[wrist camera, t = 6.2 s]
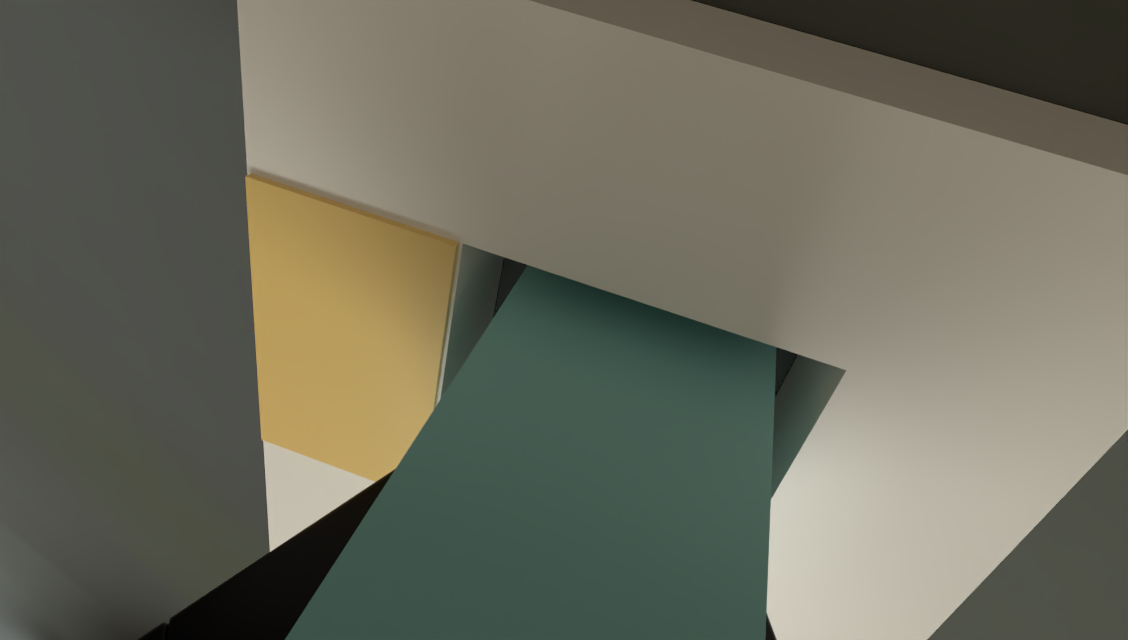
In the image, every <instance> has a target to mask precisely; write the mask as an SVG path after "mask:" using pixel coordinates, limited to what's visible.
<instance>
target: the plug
mask: <svg viewBox="0 0 1128 640" xmlns="http://www.w3.org/2000/svg"><path fill="white" fill-rule="evenodd" d="M776 351H777V347H774V346H771V345H768V344H765V343H762V342H759V341H756V340H753V339H750V338H747V337H744V336H741V335H738V334H735V333H732V332H729V331H726V330H723V329H720V328H717V327H714V326H711V325H708V324H705V323H702V322H699V321H696V320H693V319H690V318H687V317H684V316H681V315H678V314H675V313H672V312H669V311H666V310H662V309H659V308H656V307H653V306H650V305H647V304H644V303H641V302H638V301H635V300H632V299H629V298H626V297H623V296H620V295H617V294H614V293H611V292H608V291H605V290H602V289H599V288H596V287H593V286H590V285H587V284H584V283H581V282H578V281H575V280H572V279H569V278H566V277H563V276H560V275H557V274H554V273H550V272H547V271H544V270H541V269H538V268H535V267H532V266H529V265H527V267H526V268H525V270H524V271H523V273H522V275H521V276H520V278H519V279H518V281H517V282H516V284H515V285H514V287H513V288H512V290H511V292H510V293H509V295H508V296H507V298H506V299H505V301H504V302H503V304H502V305H501V307H500V309H499V310H498V312H497V313H496V315H495V316H494V318H493V319H492V321H491V322H490V324H489V325H488V327H487V329H486V330H485V332H484V333H483V335H482V336H481V338H480V339H479V341H478V342H477V344H476V346H475V347H474V349H473V350H472V352H471V353H470V355H469V356H468V358H467V359H466V361H465V363H464V364H463V366H462V367H461V369H460V370H459V372H458V373H457V375H456V376H455V378H454V379H453V381H452V383H451V384H450V386H449V387H448V389H447V390H446V392H445V393H444V395H443V396H442V398H441V400H440V401H439V403H438V404H437V406H436V407H435V409H434V410H433V412H432V413H431V415H430V417H429V418H428V420H427V421H426V423H425V424H424V426H423V427H422V429H421V430H420V432H419V434H418V435H417V437H416V438H415V440H414V441H413V443H412V444H411V446H410V447H409V449H408V450H407V452H406V454H405V455H404V457H403V458H402V460H401V461H400V463H399V464H398V466H397V467H396V469H395V471H394V472H393V474H392V475H391V477H390V478H389V480H388V481H387V483H386V484H385V486H384V488H383V489H382V491H381V492H380V494H379V495H378V497H377V498H376V500H375V501H374V503H373V504H372V506H371V508H370V509H369V511H368V512H367V514H366V515H365V517H364V518H363V520H362V521H361V523H360V525H359V526H358V528H357V529H356V531H355V532H354V534H353V535H352V537H351V538H350V540H349V542H348V543H347V545H346V546H345V548H344V549H343V551H342V552H341V554H340V555H339V557H338V559H337V560H336V562H335V563H334V565H333V566H332V568H331V569H330V571H329V572H328V574H327V575H326V577H325V579H324V580H323V582H322V583H321V585H320V586H319V588H318V589H317V591H316V592H315V594H314V596H313V597H312V599H311V600H310V602H309V603H308V605H307V606H306V608H305V609H304V611H303V613H302V614H301V616H300V617H299V619H298V620H297V622H296V623H295V625H294V626H293V628H292V629H291V631H290V633H289V634H288V636H287V637H286V639H285V640H765V637H766V611H767V585H768V559H769V533H770V507H771V481H772V455H773V429H774V403H775V377H776Z"/></svg>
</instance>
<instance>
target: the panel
mask: <svg viewBox="0 0 1128 640" xmlns="http://www.w3.org/2000/svg"><path fill="white" fill-rule="evenodd" d="M237 8H238V25H239V41H240V58H241V75H242V92H243V108H244V125H245V142H246V158H247V176H245V180H246V196H247V213H248V229H249V245H250V261H251V277H252V293H253V309H254V326H255V342H256V358H257V374H258V390H259V406H260V422H261V439H262V440H263V442H264V459H265V476H266V493H267V509H268V526H269V543H270V552H271V551H272V550H274V549H275V548H277V547H278V546H280V545H281V544H283V543H284V542H286V541H287V540H289V539H290V538H292V537H293V536H295V535H296V534H298V533H299V532H301V531H302V530H304V529H305V528H307V527H308V526H310V525H311V524H313V523H314V522H316V521H317V520H319V519H320V518H322V517H323V516H325V515H326V514H328V513H329V512H331V511H332V510H334V509H335V508H337V507H338V506H340V505H341V504H343V503H344V502H346V501H347V500H349V499H350V498H352V497H353V496H355V495H356V494H358V493H359V492H361V491H363V490H364V489H366V488H367V487H369V486H370V485H372V484H373V483H375V482H376V481H378V480H379V479H381V478H382V477H384V476H385V475H387V474H388V473H390V472H391V471H393V470H394V469H396V467H397V466H398V464H399V463H400V461H401V460H402V458H403V457H404V455H405V454H406V452H407V450H408V449H409V447H410V446H411V444H412V443H413V441H414V440H415V438H416V437H417V435H418V434H419V432H420V430H421V429H422V427H423V426H424V424H425V423H426V421H427V420H428V418H429V417H430V415H431V413H432V412H433V410H434V409H435V407H436V406H437V404H438V403H439V401H440V400H441V398H442V396H443V395H444V393H445V392H446V390H447V389H448V387H449V386H450V384H451V383H452V381H453V379H454V378H455V376H456V375H457V373H458V372H459V370H460V369H461V367H462V366H463V364H464V363H465V361H466V359H467V358H468V356H469V355H470V353H471V352H472V350H473V349H474V347H475V346H476V344H477V342H478V341H479V339H480V338H481V336H482V335H483V333H484V332H485V330H486V329H487V327H488V325H489V324H490V322H491V321H492V319H493V314H494V309H495V304H496V298H497V293H498V287H499V282H500V277H501V271H502V266H503V261H504V257H505V258H508V259H511V260H514V261H517V262H520V263H523V264H526V265H529V266H532V267H535V268H538V269H541V270H544V271H547V272H550V273H554V274H557V275H560V276H563V277H566V278H569V279H572V280H575V281H578V282H581V283H584V284H587V285H590V286H593V287H596V288H599V289H602V290H605V291H608V292H611V293H614V294H617V295H620V296H623V297H626V298H629V299H632V300H635V301H638V302H641V303H644V304H647V305H650V306H653V307H656V308H659V309H662V310H666V311H669V312H672V313H675V314H678V315H681V316H684V317H687V318H690V319H693V320H696V321H699V322H702V323H705V324H708V325H711V326H714V327H717V328H720V329H723V330H726V331H729V332H732V333H735V334H738V335H741V336H744V337H747V338H750V339H753V340H756V341H759V342H762V343H765V344H768V345H771V346H774V347H778V348H781V349H784V350H787V351H790V352H793V353H796V354H798V355H797V357H796V359H795V360H794V362H793V364H792V366H791V368H790V370H789V372H788V374H787V376H786V378H785V380H784V382H783V383H782V385H781V387H780V389H779V391H778V393H777V395H776V397H775V403H774V429H773V455H772V481H771V507H770V533H769V559H768V585H767V611H766V612H767V615H768V618H769V620H770V623H771V626H772V628H773V631H774V634H775V636H776V639H777V640H927V639H928V638H929V637H930V636H931V635H932V634H933V633H934V632H935V631H936V630H937V629H938V627H939V626H940V625H941V624H942V623H943V622H944V621H945V620H946V619H947V618H948V617H949V616H950V615H951V614H952V613H953V612H954V611H955V610H956V609H957V608H958V607H959V605H960V604H961V603H962V602H963V601H964V600H965V599H966V598H967V597H968V596H969V595H970V594H971V593H972V592H973V591H974V590H975V589H976V588H977V587H978V586H979V585H980V584H981V582H982V581H983V580H984V579H985V578H986V577H987V576H988V575H989V574H990V573H991V572H992V571H993V570H994V569H995V568H996V567H997V566H998V565H999V564H1000V563H1001V562H1002V560H1003V559H1004V558H1005V557H1006V556H1007V555H1008V554H1009V553H1010V552H1011V551H1012V550H1013V549H1014V548H1015V547H1016V546H1017V545H1018V544H1019V543H1020V542H1021V541H1022V540H1023V538H1024V537H1025V536H1026V535H1027V534H1028V533H1029V532H1030V531H1031V530H1032V529H1033V528H1034V527H1035V526H1036V525H1037V524H1038V523H1039V522H1040V521H1041V520H1042V519H1043V518H1044V516H1045V515H1046V514H1047V513H1048V512H1049V511H1050V510H1051V509H1052V508H1053V507H1054V506H1055V505H1056V504H1057V503H1058V502H1059V501H1060V500H1061V499H1062V498H1063V497H1064V496H1065V494H1066V493H1067V492H1068V491H1069V490H1070V489H1071V488H1072V487H1073V486H1074V485H1075V484H1076V483H1077V482H1078V481H1079V480H1080V479H1081V478H1082V477H1083V476H1084V475H1085V474H1086V472H1087V471H1088V470H1089V469H1090V468H1091V467H1092V466H1093V465H1094V464H1095V463H1096V462H1097V461H1098V460H1099V459H1100V458H1101V457H1102V456H1103V455H1104V454H1105V453H1106V452H1107V451H1108V449H1109V448H1110V447H1111V446H1112V445H1113V444H1114V443H1115V442H1116V441H1117V440H1118V439H1119V438H1120V437H1121V436H1122V435H1123V434H1124V433H1125V432H1126V431H1127V430H1128V125H1126V124H1122V123H1119V122H1115V121H1112V120H1108V119H1105V118H1101V117H1098V116H1094V115H1091V114H1087V113H1084V112H1080V111H1077V110H1073V109H1070V108H1066V107H1063V106H1059V105H1056V104H1052V103H1049V102H1045V101H1042V100H1038V99H1035V98H1031V97H1028V96H1024V95H1021V94H1017V93H1014V92H1010V91H1007V90H1003V89H1000V88H996V87H993V86H989V85H986V84H982V83H979V82H975V81H972V80H968V79H965V78H961V77H958V76H954V75H951V74H947V73H944V72H940V71H937V70H933V69H930V68H926V67H923V66H919V65H916V64H912V63H909V62H905V61H902V60H898V59H895V58H891V57H888V56H884V55H881V54H877V53H874V52H870V51H867V50H863V49H860V48H856V47H853V46H849V45H846V44H842V43H839V42H835V41H832V40H828V39H825V38H821V37H818V36H814V35H811V34H807V33H804V32H800V31H797V30H793V29H790V28H786V27H783V26H779V25H776V24H772V23H769V22H765V21H762V20H758V19H755V18H751V17H748V16H744V15H741V14H737V13H734V12H730V11H727V10H723V9H720V8H716V7H713V6H709V5H706V4H702V3H699V2H695V1H692V0H237Z"/></svg>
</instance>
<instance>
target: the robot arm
mask: <svg viewBox="0 0 1128 640" xmlns="http://www.w3.org/2000/svg"><path fill="white" fill-rule="evenodd" d="M394 471H395V469H394V470H393V471H391V472H390V473H388V474H387V475H385V476H384V477H382V478H381V479H379V480H378V481H376V482H375V483H373V484H372V485H370V486H369V487H367V488H366V489H364V490H363V491H361V492H359V493H358V494H356V495H355V496H353V497H352V498H350V499H349V500H347V501H346V502H344V503H343V504H341V505H340V506H338V507H337V508H335V509H334V510H332V511H331V512H329V513H328V514H326V515H325V516H323V517H322V518H320V519H319V520H317V521H316V522H314V523H313V524H311V525H310V526H308V527H307V528H305V529H304V530H302V531H301V532H299V533H298V534H296V535H295V536H293V537H292V538H290V539H289V540H287V541H286V542H284V543H283V544H281V545H280V546H278V547H277V548H275V549H274V550H272V551H271V552H269V553H268V554H266V555H265V556H263V557H262V558H260V559H259V560H257V561H256V562H254V563H253V564H251V565H250V566H248V567H247V568H245V569H244V570H242V571H241V572H239V573H238V574H236V575H235V576H233V577H232V578H230V579H229V580H227V581H225V582H224V583H222V584H221V585H219V586H218V587H216V588H215V589H213V590H212V591H210V592H209V593H207V594H206V595H204V596H203V597H201V598H200V599H198V600H197V601H195V602H194V603H192V604H191V605H189V606H188V607H186V608H185V609H183V610H182V611H180V612H179V613H177V614H176V615H174V616H173V617H171V618H170V620H169V625H168V623H162V624H160V625H159V626H157V627H156V628H154V629H153V630H151V631H150V632H148V633H147V634H145V635H144V636H142V637H141V638H139V639H138V640H285V639H286V637H287V636H288V634H289V633H290V631H291V629H292V628H293V626H294V625H295V623H296V622H297V620H298V619H299V617H300V616H301V614H302V613H303V611H304V609H305V608H306V606H307V605H308V603H309V602H310V600H311V599H312V597H313V596H314V594H315V592H316V591H317V589H318V588H319V586H320V585H321V583H322V582H323V580H324V579H325V577H326V575H327V574H328V572H329V571H330V569H331V568H332V566H333V565H334V563H335V562H336V560H337V559H338V557H339V555H340V554H341V552H342V551H343V549H344V548H345V546H346V545H347V543H348V542H349V540H350V538H351V537H352V535H353V534H354V532H355V531H356V529H357V528H358V526H359V525H360V523H361V521H362V520H363V518H364V517H365V515H366V514H367V512H368V511H369V509H370V508H371V506H372V504H373V503H374V501H375V500H376V498H377V497H378V495H379V494H380V492H381V491H382V489H383V488H384V486H385V484H386V483H387V481H388V480H389V478H390V477H391V475H392V474H393V472H394ZM765 640H777V639H776V636H775V634H774V631H773V628H772V626H771V623H770V620H769V618H768V615H767V612H766V637H765Z"/></svg>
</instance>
